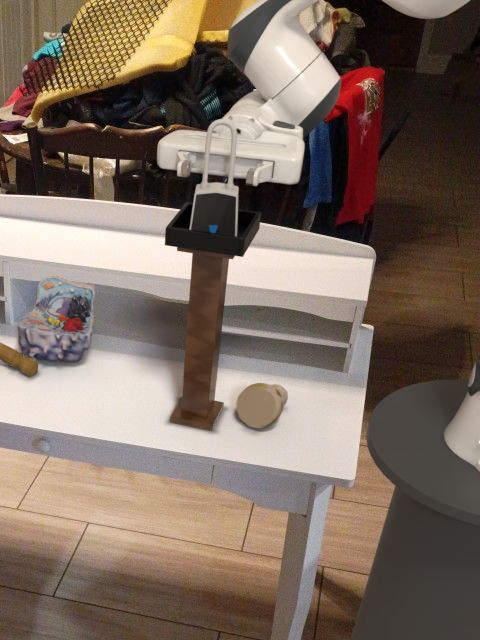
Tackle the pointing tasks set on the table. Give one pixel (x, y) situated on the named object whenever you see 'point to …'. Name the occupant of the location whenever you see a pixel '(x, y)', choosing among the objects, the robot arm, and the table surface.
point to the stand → (203, 340)
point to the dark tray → (212, 242)
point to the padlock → (216, 194)
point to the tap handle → (18, 360)
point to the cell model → (58, 321)
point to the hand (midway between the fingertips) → (216, 175)
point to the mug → (261, 404)
